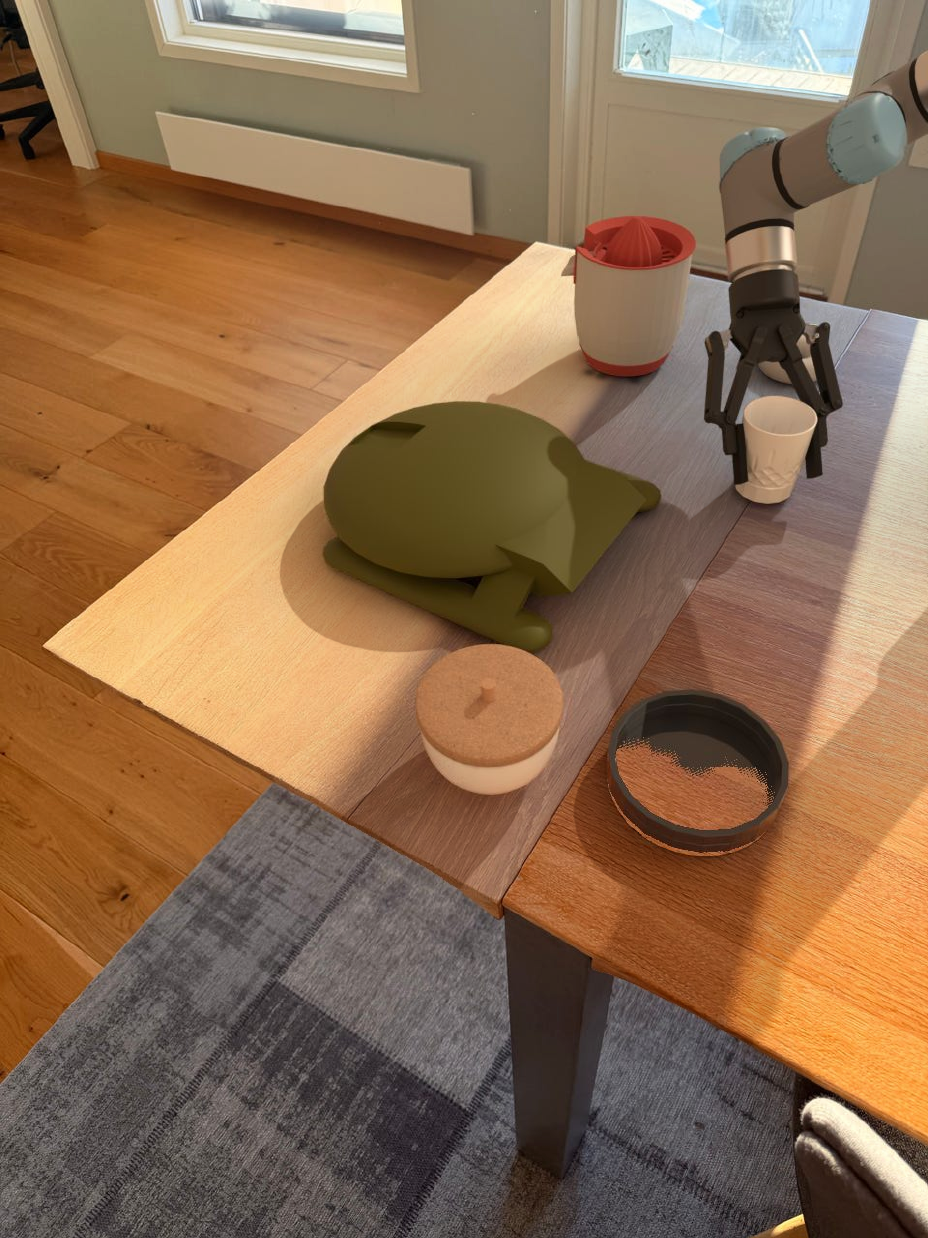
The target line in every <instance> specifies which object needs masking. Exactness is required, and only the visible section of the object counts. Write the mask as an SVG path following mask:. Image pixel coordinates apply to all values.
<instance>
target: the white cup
mask: <svg viewBox="0 0 928 1238" xmlns="http://www.w3.org/2000/svg"><path fill="white" fill-rule="evenodd" d="M741 423H743V424H744V432H745V444H746V457H747V470H748V482H745V483H743V484H740V485H734V487H735V490H736V491H737V492H738V493H739V495H741V496H742V497H743V498H745V499H747V500H749V501H751V502H754V503H759V504H766V505H770V504H777V503H778V504H779V503H781V502H783V501H785V500H787V499H789V498H790V496H791V495H792V493H793V491H794V488H795V485H796V482H797V479H798V477H799V475H800V473H801V470H802V468H803V465H804V462H805V457H806V454H807V451H808V447H809V444H810V441H811V438H812V435H813V432H814V429H815V426H816V423H817V415H816V413H815V411H814V410H813V409H812V408H811V407H810V406H809V405H807V404H805V403H804V402H802V401H800V399H796V398H793V397H789V396H784V395H766V396H760V397H757V398H755V399H752V400H751V401H749V402H748V403H747V404H746V405H745V407H744V408H743V413H742V419H741Z"/></svg>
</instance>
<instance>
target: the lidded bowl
mask: <svg viewBox="0 0 928 1238" xmlns="http://www.w3.org/2000/svg"><path fill="white" fill-rule="evenodd" d="M414 710H415V716H416V720H417V721H416V722H417V725H418V726H419V731H420V732H419V733H420V736H421V737H420V738H421V741H422V744H423V746H424V749H425V751H426V754H427V756H428V758H429V759H430V761H431V763H432V764H433V766H434V767H435V769H436V770H437V771H438V772H439V773H440V774H441V775H442V776H443V777H444V778H445V779H446V780H447V781H449V782H450V783H451V784H452V785H454V786H456V787H458V788H460V789H462V790H464V791H467V792H471V793H474V794H479V795H488V796H492V795H493V796H494V795H502V794H503V795H504V794H506V793H507V794H508V793H510V792H513V791H516V790H518V789H520V788H522V787H524V786H526V785H528V784H529V783H531V782H532V781H533V780H535V779H536V778H537V776H539V775H540V773H542V771H544V769H545V768H546V767H547V765H548V763H549V762H550V759H552V756H553V754H554V752H555V750H556V746H557V742H558V740H559V734H560V731H561V723H562V718H563V713H564V694H563V689H562V687H561V684H560V681H559V679H558V678H557V676H556V675H555V673H554V672H553V670H552V669H551V668H550V667H549V666H548V665H547V664H546V663H545V662H543V660H541V659H540V658H538V657H537V656H535V655H533V654H532V653H528V652H526V651H524V650H521V649H518V648H515V647H511V646H506V645H502V644H500V643H498V644H495V643H485V644H475V645H469V646H466V647H463V648H459V649H456V650H455V651H453V652H451V653H449V654H446V655H445V656H443V657H441V658H440V659H439V660H437V661H436V662H435V663H434V664H433V665H432V666H430V668H429V669H427V671H426V672H425V673H424V675H423V677H422V678H421V680H420V681H419V684H418V686H417V689H416V692H415V697H414Z"/></svg>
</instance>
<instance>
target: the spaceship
mask: <svg viewBox="0 0 928 1238" xmlns="http://www.w3.org/2000/svg"><path fill="white" fill-rule="evenodd" d="M661 500H662V492H661V489H659V487H658V486H657V485H656V484H655V483H653V482H651V481H649V480H646V479H643V478H641V477H637V476H634V475H631V474H628V473H625V472H623V471H620V470H618V469H617V470H616V469H615V468H614V469H613V468H610V467H608V466H605V465H602V464H599V463H597V462H593V461H591V460H587V459H585V457H584V456H583V454H582V453H581V451H580V450H579V448H578V447H577V446H576V444H575V443H574V442H573V441H572V440H571V438H570V437H568V436H567V435H566V434H565V433H564V432H563V431H562V430H561V429H560V428H558V427H556V426H555V425H553V424H551V423H549V422H548V421H547V420H545V419H544V418H541V417H538V416H536V415H534V414H531V413H529V412H526V411H524V410H521V409H519V408H515V407H511V406H507V405H502V404H499V403H494V402H493V403H492V402H484V401H473V400H471V401H469V400H468V401H465V400H463V401H461V400H459V401H458V400H457V401H456V400H455V401H445V402H435V403H430V404H425V405H420V406H416V407H411V408H409V409H405V410H402V411H400V412H397V413H394V414H391V415H390V416H388V417H386V418H384V419H381V420H380V421H377V422H375V423H373V424H372V425H370V426H369V427H367V428H365V430H363V431H362V432H360V433H358V434H357V435H356V436H354V437H353V438H352V439H351V440H350V442H348V443H347V444H346V445H345V446H344V447H343V448H342V449H341V450H340V452H339V454H338V455H337V457H336V458H335V460H334V462H333V463H332V465H331V466H330V468H329V470H328V473H327V476H326V479H325V483H324V485H323V508H324V511H325V514H326V517H327V520H328V523H329V525H330V527H331V528H332V529H333V531H334V532H335V534H336V536H335V537H333V538H332V539H330V540H329V541H327V542H326V544H325V545H324V547H322V558H323V560H324V562H325V564H327V565H328V566H329V567H331V568H332V569H334V570H337V571H338V572H341V573H344V574H346V575H348V576H350V577H352V578H354V579H357V580H359V581H361V582H363V583H366V584H368V585H369V586H372V587H374V588H376V589H379V590H381V591H383V592H385V593H387V594H389V595H392V596H394V597H397V598H399V599H401V600H403V601H405V602H407V603H409V604H412V605H413V606H417V607H418V608H421V609H423V610H425V611H428V612H429V613H432V614H434V615H436V616H438V617H440V618H443V619H445V620H447V621H450V622H452V623H454V624H456V625H458V626H460V627H462V628H464V629H467V630H469V631H471V632H474V633H476V634H478V635H480V636H483V637H485V638H487V639H488V640H491V641H493V642H495V643H498V644H500V645H506V646H511V647H515V648H518V649H521V650H524V651H526V652H528V653H530V654H532V653H537V652H539V651H542V650H544V649H546V648H547V647H548V646H549V645H550V644H551V642H552V640H553V638H554V637H553V636H554V633H553V626H552V625H551V623H550V621H549V619H546V618H545V617H544V616H542V615H540V614H538V613H536V612H534V611H531V610H529V609H527V608H525V607H524V605H525V603H526V601H527V599H528V597H529V595H530V593H531V594H534V595H537V596H539V597H541V598H544V597H551V596H552V597H553V596H559V595H566V594H572V593H574V592H575V590H576V589H577V587H578V586H579V585H580V584H581V582H582V581H583V580H584V578H586V576H587V575H588V574H589V572H590V571H591V570H592V569H593V567H594V566H595V565H596V564H597V563H598V561H599V560H600V559H601V557H602V556H603V555H604V554H605V552H606V551H607V550H608V548H609V547H610V546H611V545H612V544H613V542H614V541H615V540H616V538H617V537H618V536H619V535H620V534H621V532H622V531H623V530H624V529H625V527H626V526H627V525H628V523H629V522H630V521H631V520H632V519H633V517H634V516H635V515H636V513H640V512H642V513H644V512H649V511H651V510H653V509H655V508H656V507H657V506H659V505H660V502H661ZM471 577H472V578H473V577H481V580H480V581H479V583H478V585H477V587H476V586H473V585H471V584H469V583H466V582H464V581H462V580H459V579H464V578H471Z"/></svg>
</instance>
